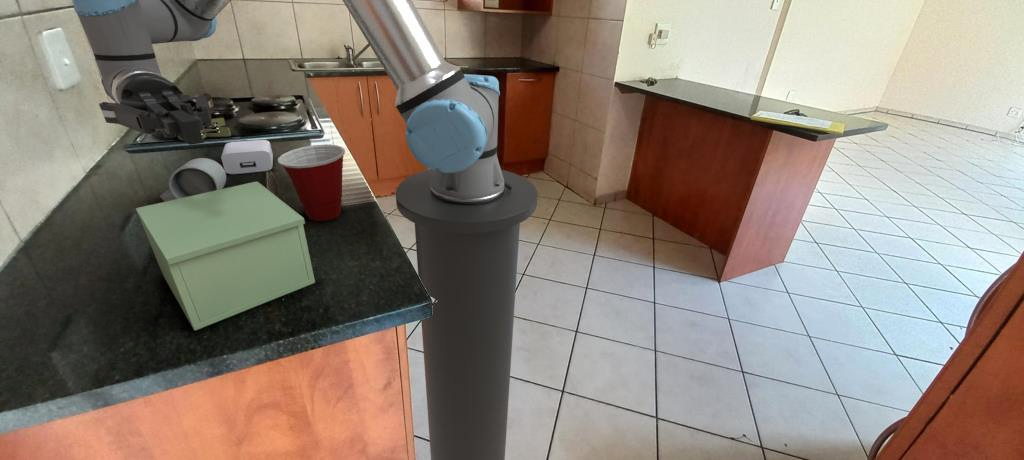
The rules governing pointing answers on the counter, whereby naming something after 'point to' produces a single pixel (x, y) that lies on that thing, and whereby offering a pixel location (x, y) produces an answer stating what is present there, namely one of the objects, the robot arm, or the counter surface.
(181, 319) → the counter surface
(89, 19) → the robot arm
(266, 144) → the charger
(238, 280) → the bin
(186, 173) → the ceramic mug
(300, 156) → the plastic cup
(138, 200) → the counter surface
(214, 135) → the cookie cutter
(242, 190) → the bin lid
